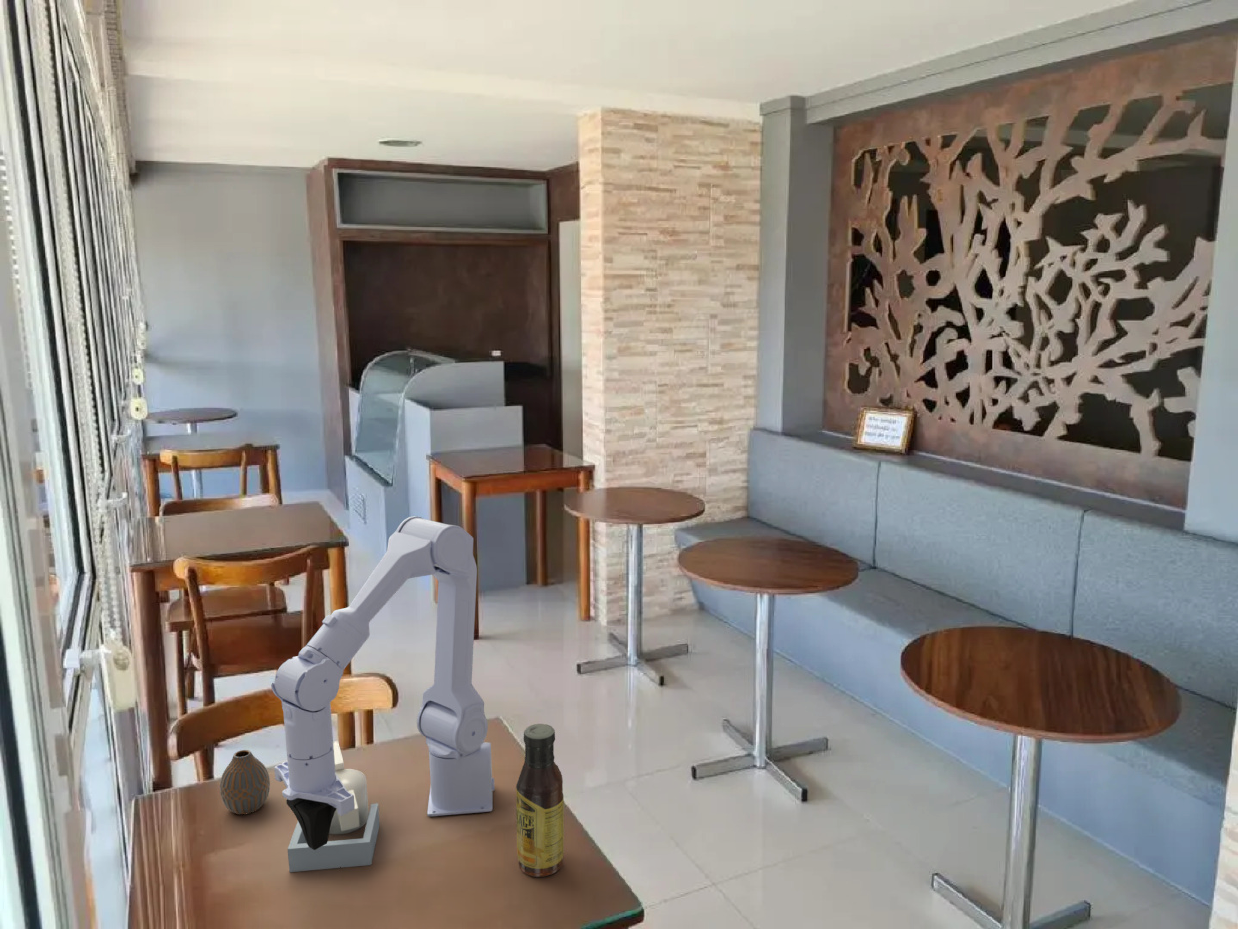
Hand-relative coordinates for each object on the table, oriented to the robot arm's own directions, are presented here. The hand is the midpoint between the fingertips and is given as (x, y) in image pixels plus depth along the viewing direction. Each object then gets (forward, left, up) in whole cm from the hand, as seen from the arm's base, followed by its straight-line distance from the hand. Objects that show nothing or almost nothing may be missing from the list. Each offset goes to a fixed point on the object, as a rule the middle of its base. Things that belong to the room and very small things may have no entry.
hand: (317, 845), depth 121 cm
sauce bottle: (-29, +2, -5) cm, 29 cm away
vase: (+14, -19, -5) cm, 24 cm away
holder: (-1, -7, -5) cm, 8 cm away
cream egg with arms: (-1, -13, -4) cm, 14 cm away
